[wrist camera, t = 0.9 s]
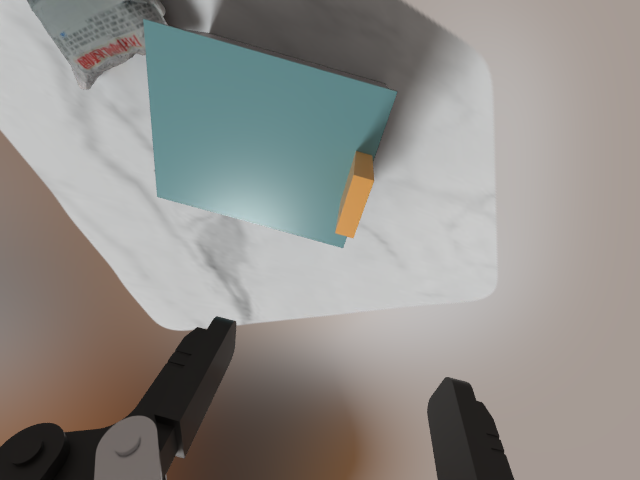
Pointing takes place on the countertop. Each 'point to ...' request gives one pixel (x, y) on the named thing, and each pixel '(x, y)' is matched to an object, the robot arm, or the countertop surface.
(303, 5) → the countertop surface
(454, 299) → the countertop surface
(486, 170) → the countertop surface
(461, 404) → the robot arm
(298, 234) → the lid
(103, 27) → the packaged food
